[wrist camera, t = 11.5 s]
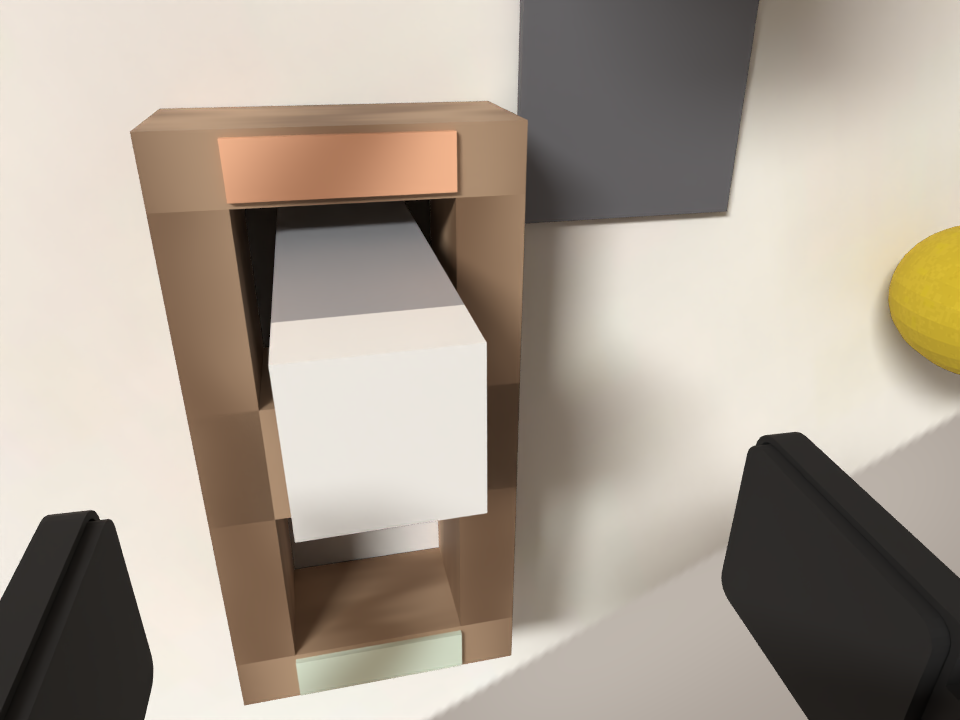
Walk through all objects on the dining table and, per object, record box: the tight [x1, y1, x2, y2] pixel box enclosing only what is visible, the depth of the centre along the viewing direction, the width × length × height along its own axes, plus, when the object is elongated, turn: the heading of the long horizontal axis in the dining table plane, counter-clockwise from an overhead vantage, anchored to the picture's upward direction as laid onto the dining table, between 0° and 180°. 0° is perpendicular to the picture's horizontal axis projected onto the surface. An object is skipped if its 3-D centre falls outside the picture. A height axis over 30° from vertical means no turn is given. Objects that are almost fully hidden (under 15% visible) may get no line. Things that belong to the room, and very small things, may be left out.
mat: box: [517, 0, 759, 223], centre depth 24 cm, size 8×8×1 cm
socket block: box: [130, 101, 528, 705], centre depth 25 cm, size 10×20×5 cm, turn 1°
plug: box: [268, 201, 487, 543], centre depth 19 cm, size 4×4×12 cm
